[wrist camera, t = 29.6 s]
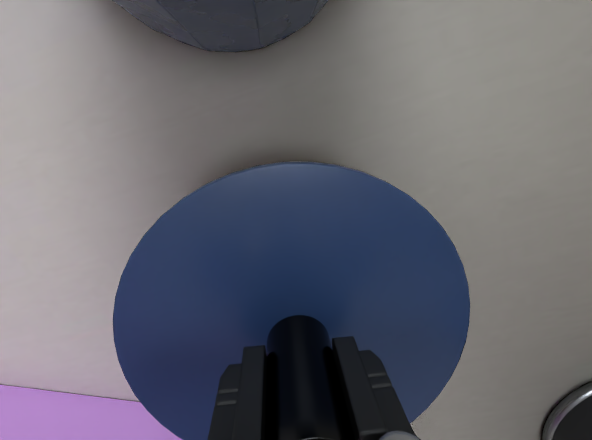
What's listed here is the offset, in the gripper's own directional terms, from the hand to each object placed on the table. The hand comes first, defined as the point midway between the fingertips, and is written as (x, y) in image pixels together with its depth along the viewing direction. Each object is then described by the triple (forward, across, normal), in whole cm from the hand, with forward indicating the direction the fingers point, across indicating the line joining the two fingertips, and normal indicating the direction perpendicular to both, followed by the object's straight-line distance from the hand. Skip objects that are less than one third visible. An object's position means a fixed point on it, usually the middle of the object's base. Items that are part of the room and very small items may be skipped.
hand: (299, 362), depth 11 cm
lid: (+2, 0, 0) cm, 2 cm away
